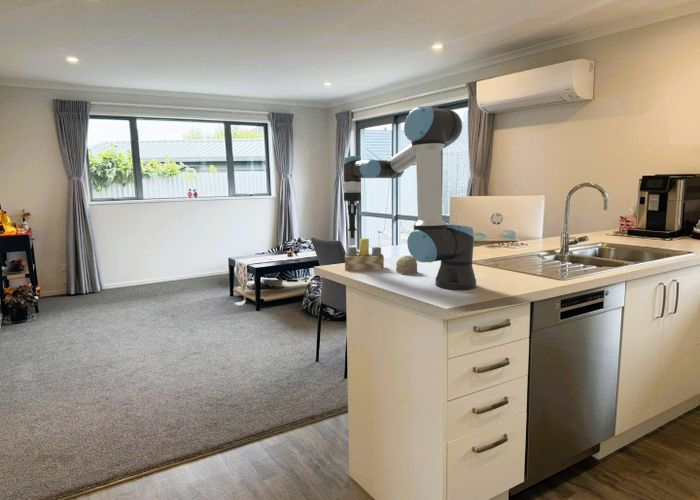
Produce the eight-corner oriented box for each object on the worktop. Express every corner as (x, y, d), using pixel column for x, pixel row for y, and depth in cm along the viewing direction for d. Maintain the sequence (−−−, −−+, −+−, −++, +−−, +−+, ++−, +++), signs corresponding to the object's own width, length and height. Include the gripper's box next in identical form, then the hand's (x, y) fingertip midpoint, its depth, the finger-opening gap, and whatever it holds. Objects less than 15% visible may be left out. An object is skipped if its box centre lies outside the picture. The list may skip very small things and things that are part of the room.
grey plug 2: (382, 267, 209) (382, 248, 208) (374, 268, 207) (374, 248, 206) (377, 266, 213) (378, 246, 211) (370, 267, 211) (370, 247, 209)
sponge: (403, 283, 198) (416, 266, 193) (388, 269, 202) (399, 251, 197) (414, 280, 205) (426, 263, 201) (399, 265, 209) (411, 248, 204)
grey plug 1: (357, 267, 209) (357, 247, 208) (349, 268, 207) (349, 248, 206) (353, 266, 213) (353, 246, 211) (345, 266, 211) (345, 247, 210)
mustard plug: (370, 259, 209) (370, 239, 207) (362, 259, 207) (362, 239, 205) (365, 257, 212) (366, 238, 211) (358, 258, 210) (358, 238, 209)
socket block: (382, 266, 214) (382, 253, 213) (383, 270, 206) (383, 256, 205) (345, 266, 214) (345, 253, 213) (344, 270, 206) (345, 256, 205)
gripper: (344, 191, 211) (344, 243, 215) (343, 192, 198) (343, 247, 202) (360, 191, 211) (360, 243, 215) (361, 192, 198) (360, 247, 202)
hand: (352, 245), depth 208 cm, fingers closed
